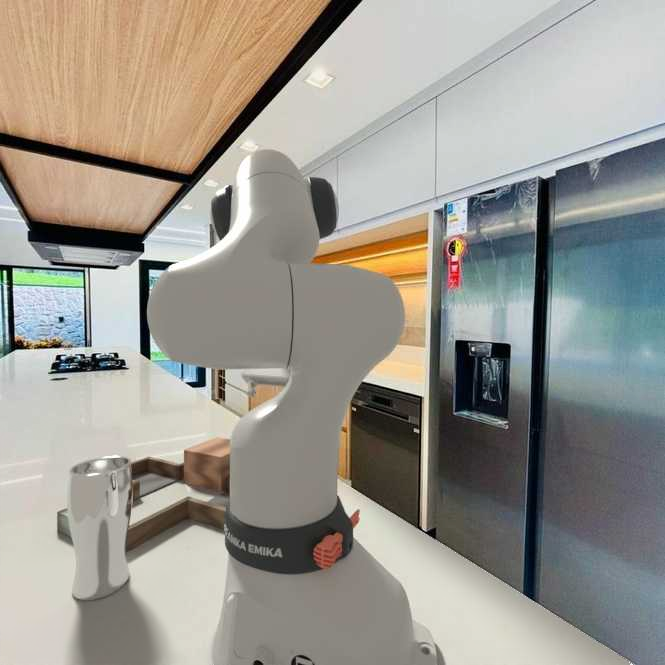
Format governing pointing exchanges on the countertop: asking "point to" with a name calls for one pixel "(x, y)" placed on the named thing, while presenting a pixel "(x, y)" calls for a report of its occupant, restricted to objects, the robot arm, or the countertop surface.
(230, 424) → the countertop surface
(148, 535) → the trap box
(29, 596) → the countertop surface
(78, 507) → the beer glass
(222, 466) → the terracotta block
